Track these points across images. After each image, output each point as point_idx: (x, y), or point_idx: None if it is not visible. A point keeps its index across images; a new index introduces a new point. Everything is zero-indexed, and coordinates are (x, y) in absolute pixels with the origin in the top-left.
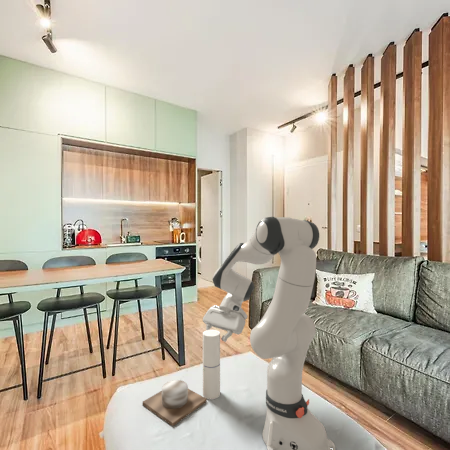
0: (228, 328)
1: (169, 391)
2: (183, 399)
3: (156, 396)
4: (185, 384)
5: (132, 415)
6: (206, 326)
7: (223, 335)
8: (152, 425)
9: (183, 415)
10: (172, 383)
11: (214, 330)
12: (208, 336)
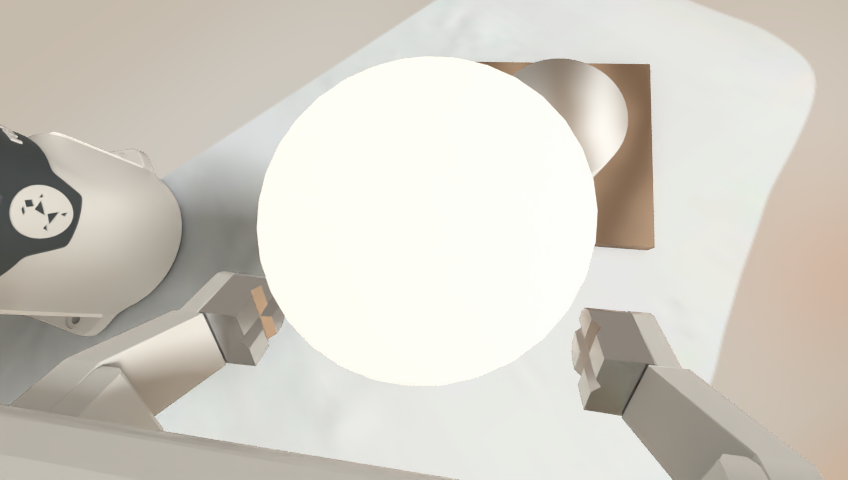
0: (13, 407)
1: (552, 80)
2: None
3: (633, 117)
4: None
5: (617, 21)
6: (765, 433)
7: (227, 313)
8: (514, 35)
9: None
10: (596, 130)
11: (441, 346)
12: (374, 71)
